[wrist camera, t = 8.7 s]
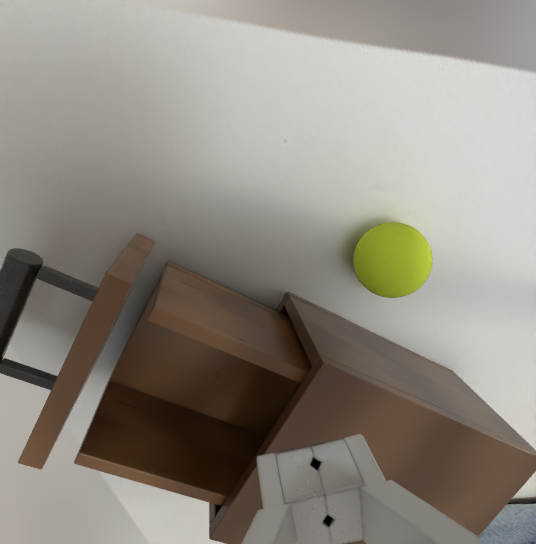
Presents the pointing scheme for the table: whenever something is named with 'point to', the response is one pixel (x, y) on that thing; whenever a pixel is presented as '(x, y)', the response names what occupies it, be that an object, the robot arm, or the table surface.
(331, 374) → the cabinet
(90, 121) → the table surface
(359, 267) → the tennis ball
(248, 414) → the drawer
